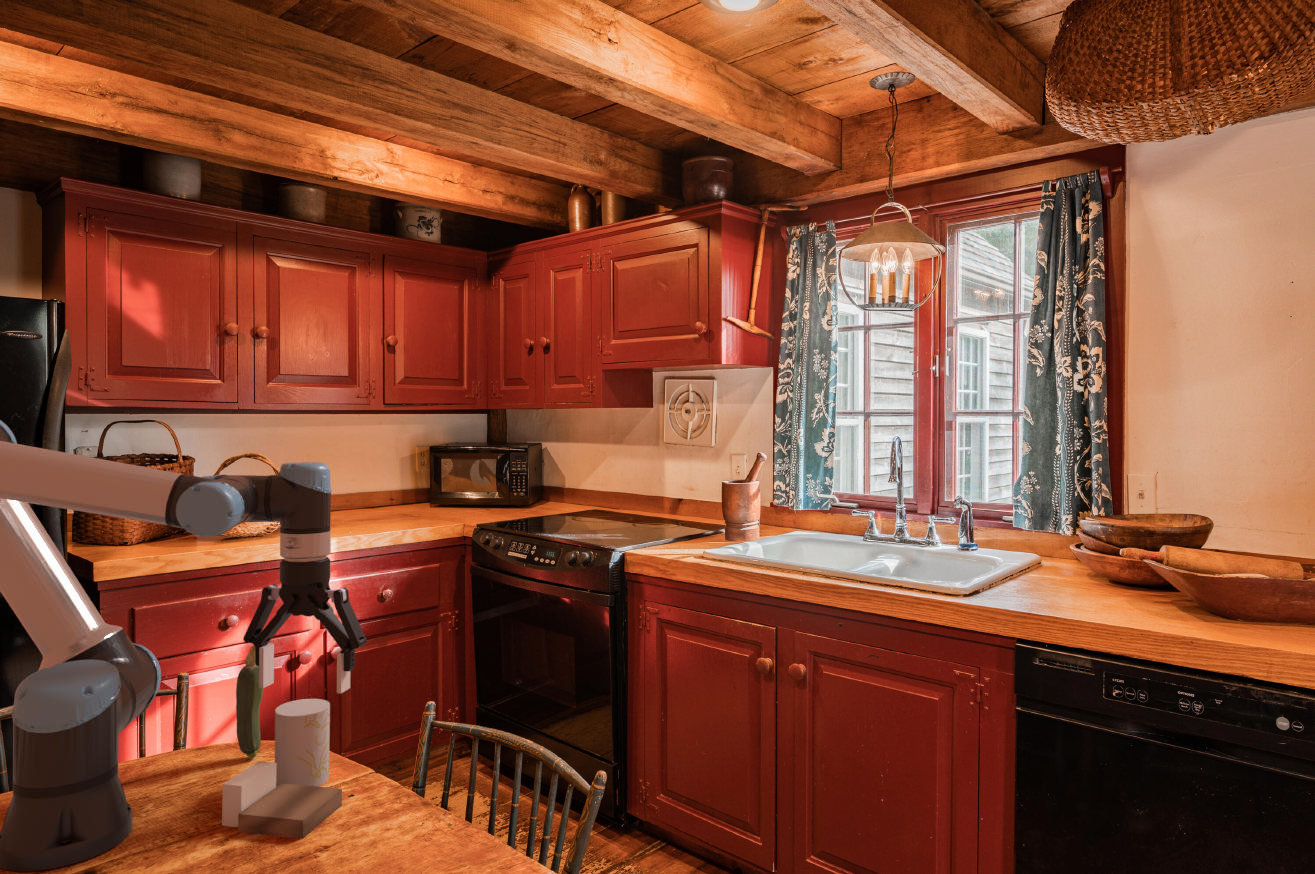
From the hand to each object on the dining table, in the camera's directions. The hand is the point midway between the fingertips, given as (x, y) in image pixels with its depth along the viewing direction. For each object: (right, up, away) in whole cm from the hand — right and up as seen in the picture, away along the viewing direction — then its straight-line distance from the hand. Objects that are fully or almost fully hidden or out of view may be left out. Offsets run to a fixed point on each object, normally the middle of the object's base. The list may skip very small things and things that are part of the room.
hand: (304, 688), depth 129 cm
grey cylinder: (-1, -15, 0) cm, 15 cm away
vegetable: (-13, -15, +9) cm, 22 cm away
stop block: (-3, -15, -11) cm, 19 cm away
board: (+4, -16, -12) cm, 20 cm away
